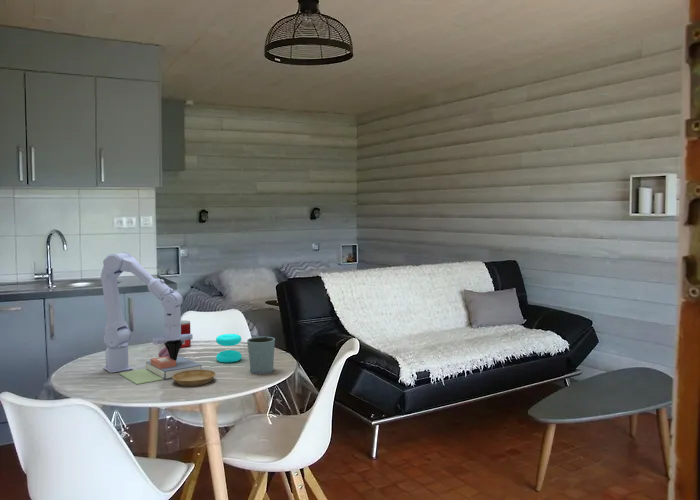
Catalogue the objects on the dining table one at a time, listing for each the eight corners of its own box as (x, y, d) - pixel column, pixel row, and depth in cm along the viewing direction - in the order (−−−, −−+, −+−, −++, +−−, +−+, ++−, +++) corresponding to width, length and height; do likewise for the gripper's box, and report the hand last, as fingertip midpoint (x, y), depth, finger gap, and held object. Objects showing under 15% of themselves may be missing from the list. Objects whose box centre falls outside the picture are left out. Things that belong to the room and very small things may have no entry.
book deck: (145, 369, 227) (145, 361, 227) (181, 363, 236) (181, 356, 236) (164, 379, 213) (164, 371, 213) (201, 373, 222) (201, 364, 221)
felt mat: (119, 374, 221) (119, 373, 221) (144, 369, 227) (144, 368, 227) (136, 384, 207) (136, 383, 207) (163, 379, 213) (163, 378, 213)
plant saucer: (172, 389, 201) (172, 382, 201) (172, 378, 215) (172, 371, 215) (217, 386, 205) (217, 378, 205) (214, 375, 220) (214, 368, 219)
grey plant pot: (279, 368, 228) (278, 337, 227) (268, 375, 218) (268, 342, 217) (254, 366, 230) (254, 335, 230) (243, 373, 221) (242, 341, 220)
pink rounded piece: (170, 364, 240) (177, 348, 241) (159, 360, 239) (167, 344, 240) (167, 359, 250) (175, 344, 250) (157, 355, 248) (164, 339, 249)
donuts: (245, 334, 244) (233, 338, 234) (246, 358, 244) (233, 364, 235) (224, 332, 247) (211, 337, 237) (224, 356, 247) (211, 362, 238)
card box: (150, 364, 223) (150, 358, 223) (166, 361, 227) (166, 356, 226) (160, 369, 216) (159, 363, 216) (176, 366, 220) (176, 360, 219)
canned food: (194, 345, 269) (193, 321, 268) (180, 349, 262) (180, 324, 261) (182, 343, 273) (181, 319, 272) (168, 347, 266) (168, 322, 265)
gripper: (157, 328, 215) (158, 366, 216) (195, 323, 224) (196, 359, 225) (150, 325, 221) (151, 362, 221) (187, 321, 230) (188, 356, 231)
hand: (173, 360), depth 224 cm, fingers closed
